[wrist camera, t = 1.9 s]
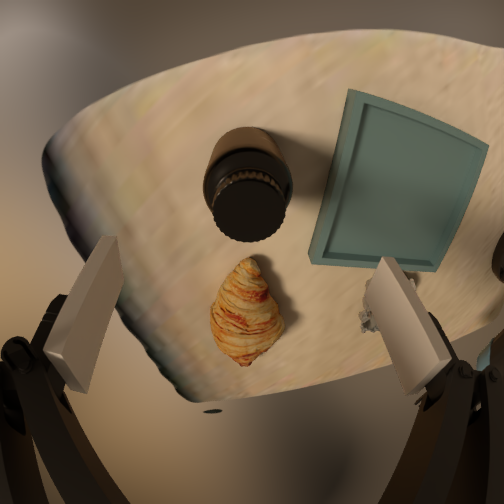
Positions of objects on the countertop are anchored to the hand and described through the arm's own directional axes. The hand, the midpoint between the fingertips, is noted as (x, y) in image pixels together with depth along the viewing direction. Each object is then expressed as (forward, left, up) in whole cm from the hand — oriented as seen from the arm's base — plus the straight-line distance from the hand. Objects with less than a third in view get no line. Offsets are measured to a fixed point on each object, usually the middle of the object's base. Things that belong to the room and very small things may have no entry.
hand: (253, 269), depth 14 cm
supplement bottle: (0, 0, -18) cm, 18 cm away
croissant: (-3, +22, -18) cm, 29 cm away
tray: (-19, +1, -18) cm, 26 cm away
